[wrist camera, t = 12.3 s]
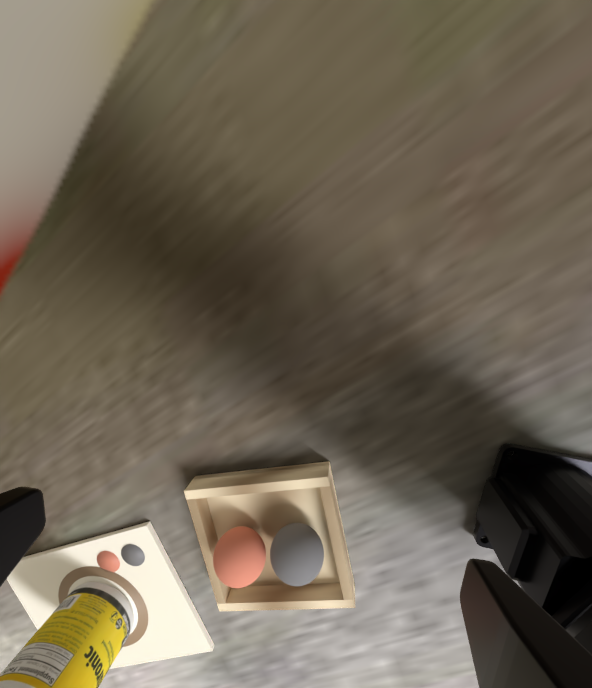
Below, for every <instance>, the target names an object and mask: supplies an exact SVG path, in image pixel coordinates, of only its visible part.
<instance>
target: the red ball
mask: <svg viewBox="0 0 592 688" xmlns="http://www.w3.org/2000/svg"><path fill="white" fill-rule="evenodd" d="M265 561H266V548H265V544H264V542H263V540H262V538H261V536H260V535H259V534H258V533H257V532H256V531H255V530H253V529H251V528H249V527H244V526H239V527H235V528H232V529H230V530H228V531H227V532H226V533H225V534H223V535H222V537H221V538H220V539H219V541H218V543H217V544H216V547H215V550H214V554H213V566H214V570H215V573H216V575H217V577H218V578H219V580H220V581H221V582H222V583H224V584H225V585H227V586H229V587H232V588H243V587H246V586H248V585H250V584H252V583H253V582H254V581H255V580H256V579H257V578H258V577H259V576H260V574H261V572H262V570H263V568H264V565H265Z"/></svg>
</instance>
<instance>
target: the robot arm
mask: <svg viewBox="0 0 592 688" xmlns="http://www.w3.org/2000/svg"><path fill="white" fill-rule="evenodd" d="M511 451H514V453H513V455H511V456H507V454H508V453H509V452H511ZM476 517H477V519H478V520H477V523H476V526H475V529H474V533H473V536H474V538H475V540H476V542H477V544H478V545H479V546H482V547H486V548H490V549H494V551H495V553H496V555H497V557H498V559H499V561H500V562H501V564H502V566H503V568H504V570H505V572H506V573H507V574H505V573H504V572H503V571H502V570H501V569H500V568H499V567H498V566H497V565H496V564H494V563H493V562H490V561H486V560H480V559H470V560H469V561H468V563H467V566H466V570H465V574H464V578H463V582H462V587H461V591H460V603H461V609H462V613H463V617H464V622H465V626H466V631H467V635H468V640H469V644H470V648H471V653H472V657H473V662H474V666H475V671H476V675H477V679H478V684H479V688H592V459H587V458H582V457H577V456H572V455H567V454H562V453H556V452H551V451H546V450H541V449H536V448H531V447H525V446H520V445H515V444H505V445H503V446H502V447H501V448H500V450H499V453H498V456H497V459H496V462H495V466H494V469H493V472H492V475H491V477H490V478H489V479H488V480H487V482H486V485H485V488H484V491H483V494H482V498H481V501H480V504H479V507H478V511H477V514H476ZM45 522H46V517H45V508H44V499H43V493H42V492H41V490H39V489H36V488H30V487H18V488H15V489H12V490H9V491H6V492H4V493H1V494H0V587H1V585H2V584H3V583H4V581H5V580H6V579H7V577H8V576H9V575H10V573H11V572H12V571H13V569H14V568H15V567H16V566H17V564H18V563H19V562H20V560H21V559H22V558H23V556H24V555H25V554H26V552H27V551H28V550H29V548H30V547H31V546H32V545H33V543H34V542H35V541H36V539H37V538H38V537H39V535H40V534H41V532H42V531H43V529H44V526H45ZM482 536H486V537H485V538H481V537H482ZM512 579H513V580H517V581H518V583H519V584H520V586H521V588H522V589H521V588H520V587H519V586H518V585H517V584H516V583H515V582H514V581H513V580H512Z"/></svg>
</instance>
